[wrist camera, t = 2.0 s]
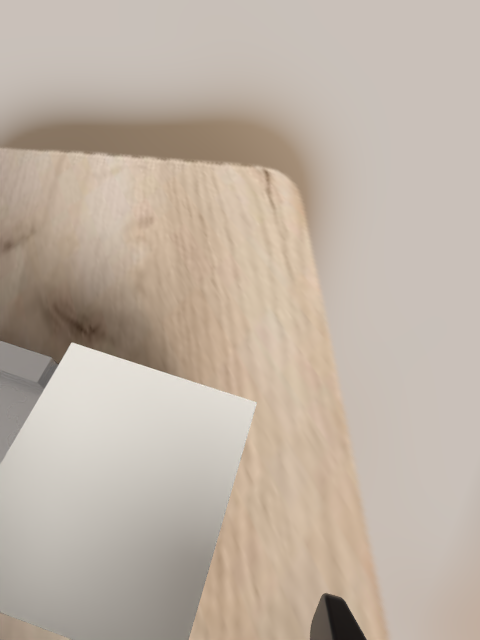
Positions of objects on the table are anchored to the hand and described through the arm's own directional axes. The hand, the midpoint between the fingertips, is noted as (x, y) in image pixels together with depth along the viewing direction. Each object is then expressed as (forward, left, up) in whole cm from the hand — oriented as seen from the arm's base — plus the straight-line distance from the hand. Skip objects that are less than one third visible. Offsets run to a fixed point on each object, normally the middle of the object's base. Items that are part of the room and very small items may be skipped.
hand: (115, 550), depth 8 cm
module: (+1, 0, -9) cm, 9 cm away
